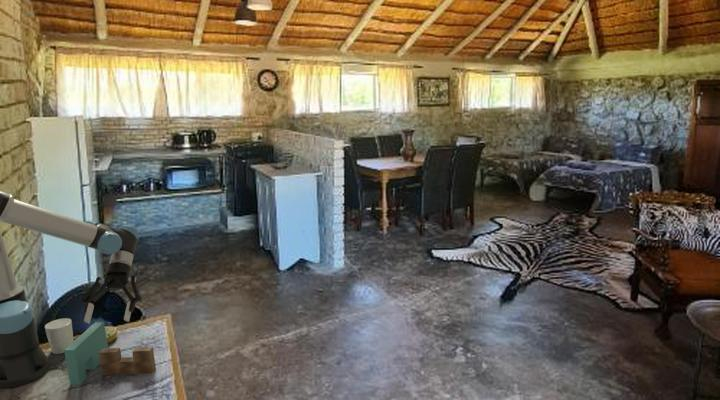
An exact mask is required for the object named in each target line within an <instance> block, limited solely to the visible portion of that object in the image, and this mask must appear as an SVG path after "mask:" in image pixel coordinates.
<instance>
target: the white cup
mask: <svg viewBox="0 0 720 400" xmlns="http://www.w3.org/2000/svg"><path fill="white" fill-rule="evenodd" d="M44 329H45V334H46V337H47V340H48V345H49V346H50V351H51V354H54V355H59V354H60V355H61V354H65V353H64V350H65V349H66V348H67V347H68V346H69V345H70V344H72V343H73V342H74V332H73V323H72V319H71V318H67V317H66V318H65V317H64V318H58V319H55V320H52V321H50V322H48V323H46V324H45V325H44Z"/></svg>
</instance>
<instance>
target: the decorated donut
mask: <svg viewBox="0 0 720 400" xmlns="http://www.w3.org/2000/svg"><path fill="white" fill-rule="evenodd" d="M105 331H106V338H107V344H110V343H112V342H113V341H115V339H116V338H117V336H118V330H117V328H116V326H115V327H114V326H109V325H108V326H105Z"/></svg>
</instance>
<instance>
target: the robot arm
mask: <svg viewBox="0 0 720 400" xmlns="http://www.w3.org/2000/svg"><path fill="white" fill-rule="evenodd" d="M0 223H4V224H8V225H12V226H16V227H19V228H22V229H25V230H30V231H32V232H36V233H39V234H43V235H46V236H49V237H53V238H57V239H60V240H64V241H67V242H70V243H74V244H78V245H80V246H83V247H88V248H89V249H94V250H97V251H99V252H100V253H101V254H105V255H111V256H110V259H109V264H108V266H107V267H108V268H107V270H106V275H105V278H103V277H100V276H97V277H96V279H95V281H94V283H93V284H92V286H91V287H90V288H89V289H88V290H87V291H86V293H85V294H84V296H83V297H82V298H81V299H80V300H81V302H82V303H84V304H85V306H84V314H85V315H84V318H83V322H84V323H86V324H91V320H92V315H93V313H94V309H95V308H94V307H95V305H94V303H96V302H97V301H98V300H100V299H101V298H102V296H103V295H105V294H106V293H107V292H109V291H116V290H117V291H120V290H122V291H123V292H124V294H125V295H126V297H127V298H128V301H127V304H126V307H125V312H124V315H123V320H124V321H125V322H127V323H129V322H130V319H131V314H132V312H134V311H135V307H136V304H137V303H140V302H142V301H143V299H142V295H141V292H140V289H139V287H138V278H137V277H136V276H135V275H131V276H130V274H131V270H132V265H133V260H134V255H135V251H136V249H137V244H138V239H139V229H137V228H136V227H135V226H132V225H126V224H125V225H120V226H119V227H118V228H115V227H112V226H109V225H107V224H104V223H100V222H98V221H95V220H89V219H88V220H86V221H82V220H79V219H76V218H73V217H69V216H66V215H64V214H60V213H57V212H55V211H52V210H48V209H46V208H42V207H40V206H36V205H33V204H31V203H28V202H27V203H26V202H24V201H21V200H18V199H15V198H14V197H13V195H12V194H10V193H8V192H5V191H3V190H0ZM128 283H130V285H131V288H132V291H133V293H134V296H133V294H132V292H131V291H130V290H129V288H128V287H127V284H128ZM25 291H26V290H25V287H24V286H22V285H19V284H17V281H16V277H15V274H14V271H13V268H12V263H11V260H10V257H9V255H8V251H7V248H6V245H5V242H4V238H3V234H2V231H1V230H0V389H10V388H16V387H19V386H24V385H26V384H29V383H31V382H33V381H35V380H38V379H39V378H41V377H43V376H44V375H45V374H46V373H48V371H49V370H50V368H51V363H50V359H49V357H48V356H47V355H46V353H45V351H43V349H42V347H41V346H40V342H39V337H38V331H37V327H36V321H35V318H34V317H35V314H34V313H35V312H34V309H33V307H32V305H31V304H30V303H29V300H28V299H27V297H28V296H27V294H26V292H25Z"/></svg>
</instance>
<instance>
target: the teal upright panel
mask: <svg viewBox="0 0 720 400" xmlns="http://www.w3.org/2000/svg"><path fill="white" fill-rule="evenodd" d="M105 327H106V326H105V321H95V322H94V323H93V324H92V325H90V326H89V327H88V328H87V329H86V330H85V331H83V333H82V334H80V335H79V336H78V337H77V338H76V339H75V340H73V343H72V344H70V345H69V346H68V347H67V348H66V349H65V350H64V353H63V354H64V357H65V364H66V367H67V369H66V370H67V373H68V374H67V376H68V380H69V385H70V386H81V384H83V382H84V381H86V380H87V371H89V370H90V371H92V370H95V369H96V368H97V367H98V366H99V365H101V363H100V357H99V352H100V351H101V350H102V349H105V348H109V345H108V344H109V343H108V344H107V338H106V331H105Z"/></svg>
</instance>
